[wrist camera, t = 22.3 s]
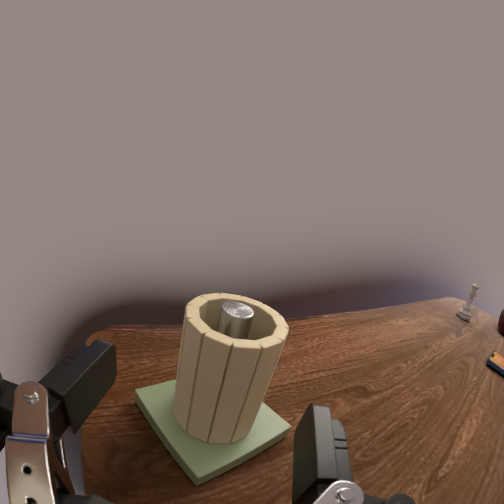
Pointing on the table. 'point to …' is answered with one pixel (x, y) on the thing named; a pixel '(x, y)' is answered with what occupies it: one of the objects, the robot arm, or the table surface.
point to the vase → (501, 322)
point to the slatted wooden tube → (224, 369)
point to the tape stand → (204, 453)
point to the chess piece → (468, 304)
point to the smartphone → (496, 361)
